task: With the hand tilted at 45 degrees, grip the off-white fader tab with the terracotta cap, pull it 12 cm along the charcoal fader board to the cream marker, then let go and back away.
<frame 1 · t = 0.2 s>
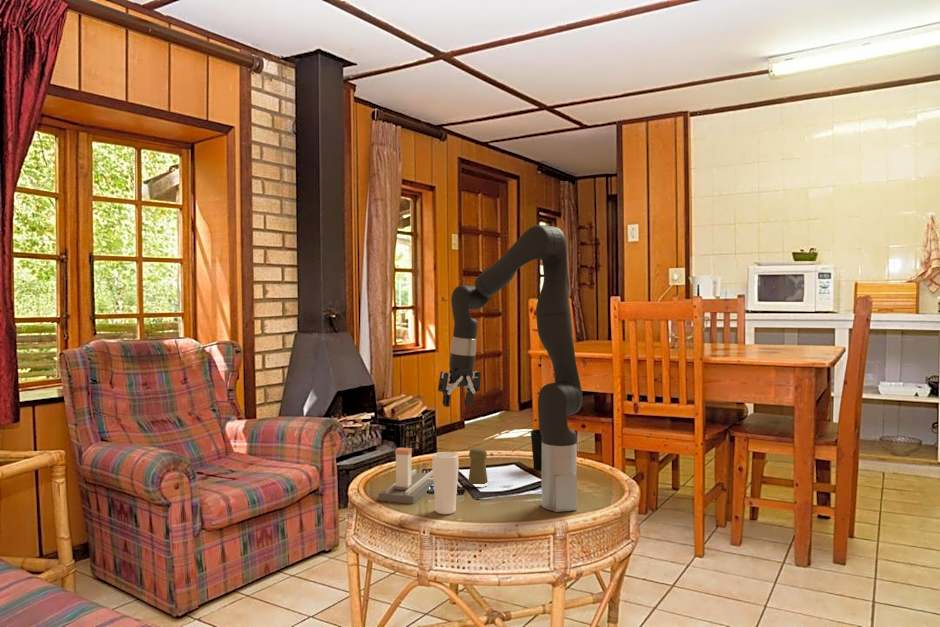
hand: (457, 405, 212), 23 cm above the table, tool pointing down, fingers open, 8 cm apart
drinking glass: (445, 512, 184), on the table
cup: (542, 469, 228), on the table
fader tab: (403, 468, 198), point 8 cm above the table, slide at 0.0 cm
cork: (477, 485, 209), on the table
fader board: (411, 490, 204), on the table
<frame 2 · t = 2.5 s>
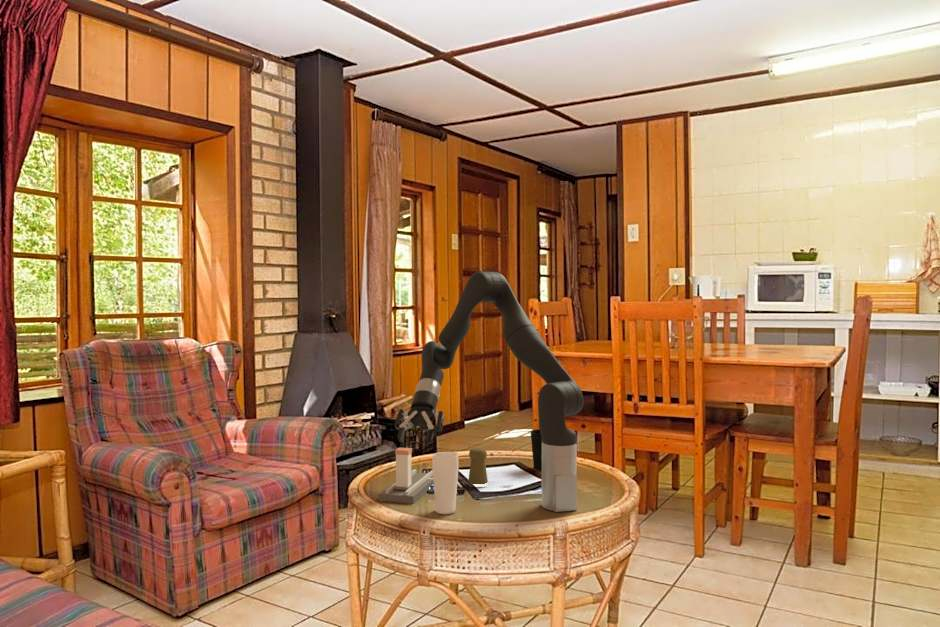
hand: (413, 441, 205), 14 cm above the table, tool tilted 45°, fingers open, 8 cm apart
nothing on the table moved.
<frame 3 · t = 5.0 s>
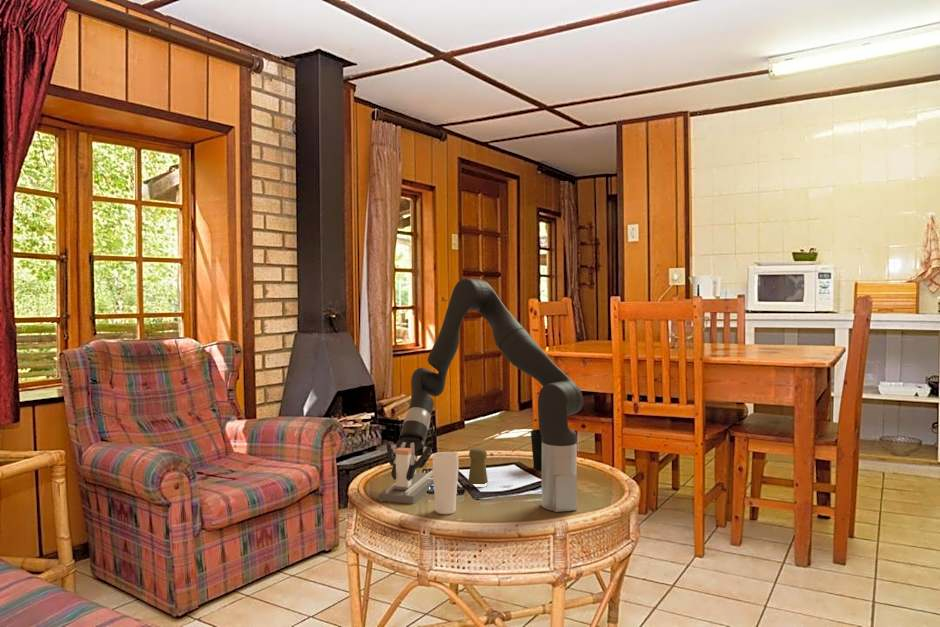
hand: (401, 478, 196), 6 cm above the table, tool tilted 45°, fingers closed on fader tab, 3 cm apart
fader tab: (403, 468, 198), point 8 cm above the table, slide at 0.0 cm, touching gripper
everything else where it was.
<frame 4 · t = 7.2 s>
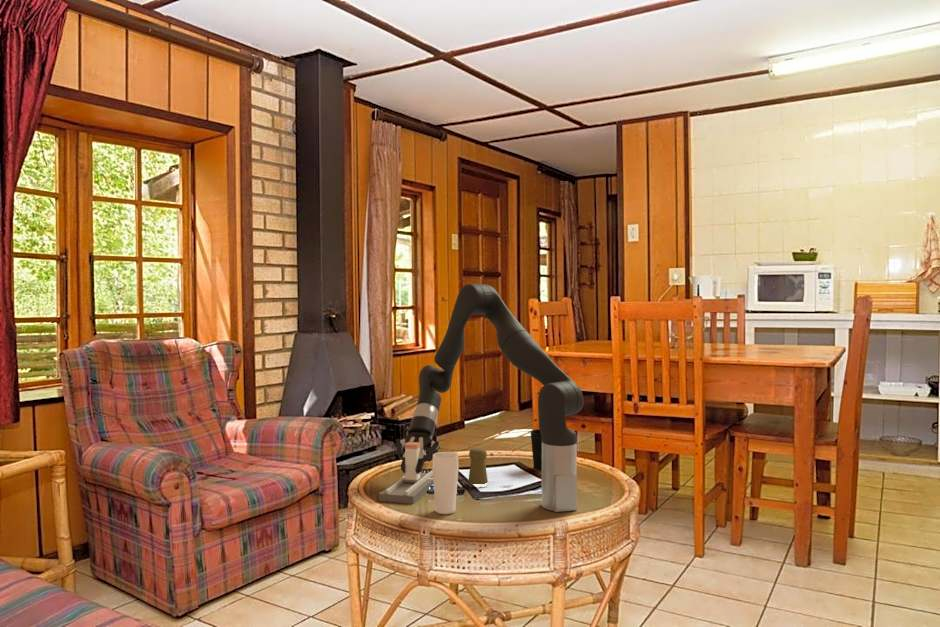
hand: (410, 471, 203), 6 cm above the table, tool tilted 45°, fingers closed on fader tab, 3 cm apart
fader tab: (412, 462, 205), point 8 cm above the table, slide at 7.5 cm, touching gripper
everything else where it was.
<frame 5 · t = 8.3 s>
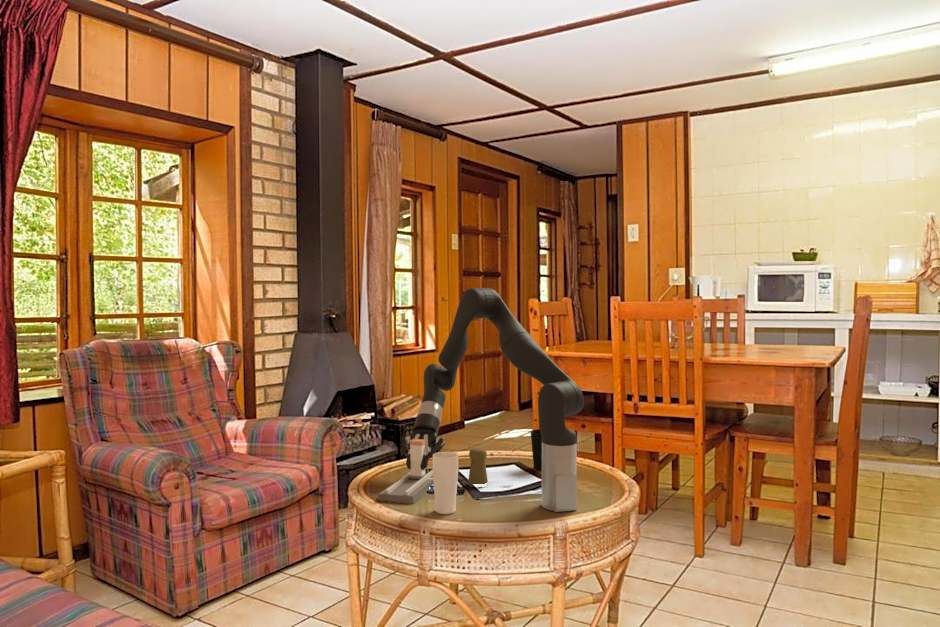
hand: (415, 467, 207), 6 cm above the table, tool tilted 45°, fingers closed on fader tab, 3 cm apart
fader tab: (417, 458, 209), point 8 cm above the table, slide at 11.9 cm, touching gripper
everything else where it was.
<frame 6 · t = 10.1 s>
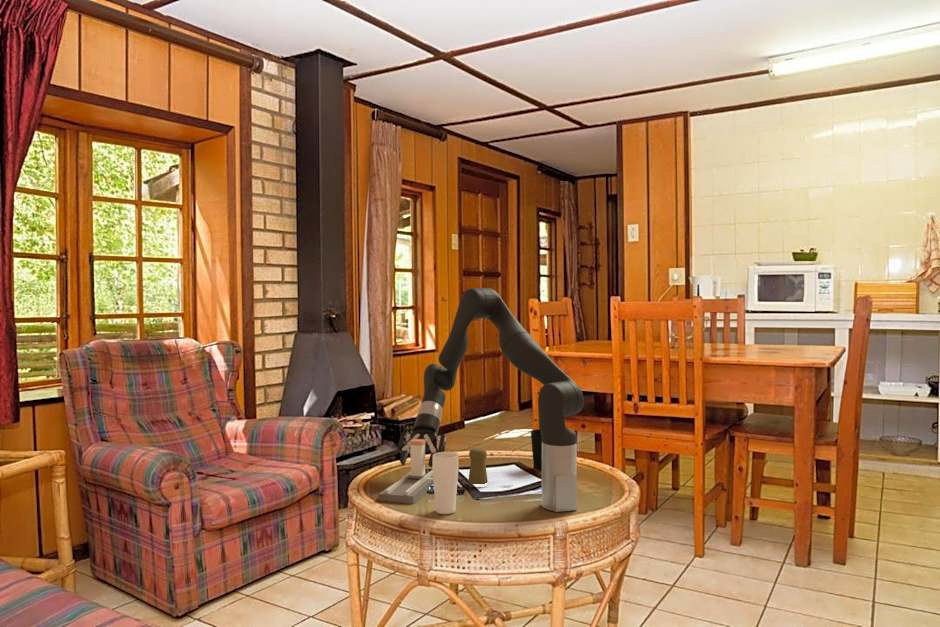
hand: (416, 465, 208), 6 cm above the table, tool tilted 45°, fingers open, 8 cm apart
fader tab: (417, 458, 209), point 8 cm above the table, slide at 12.0 cm
everything else where it was.
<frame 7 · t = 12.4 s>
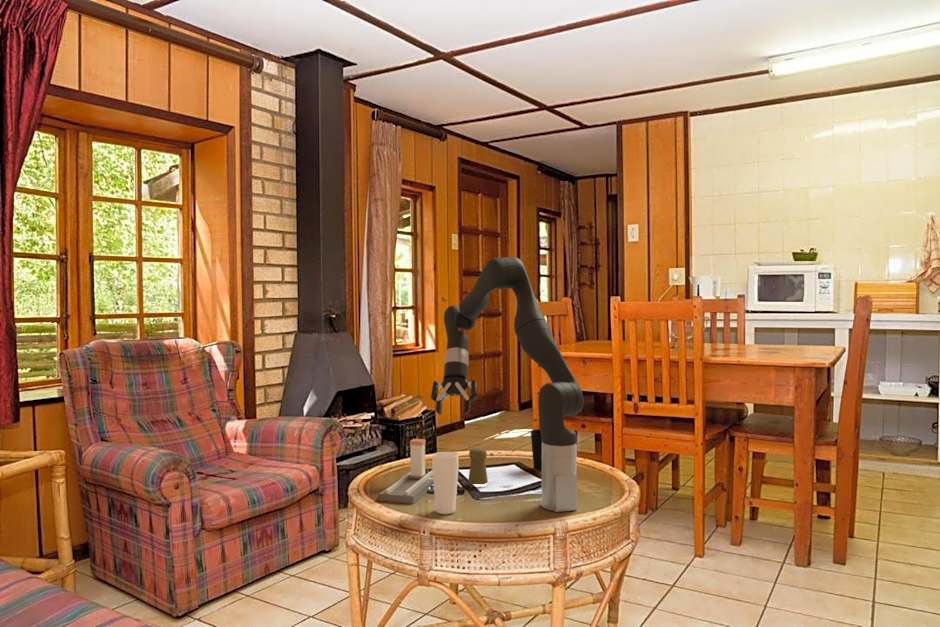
hand: (452, 413, 218), 19 cm above the table, tool tilted 30°, fingers open, 8 cm apart
nothing on the table moved.
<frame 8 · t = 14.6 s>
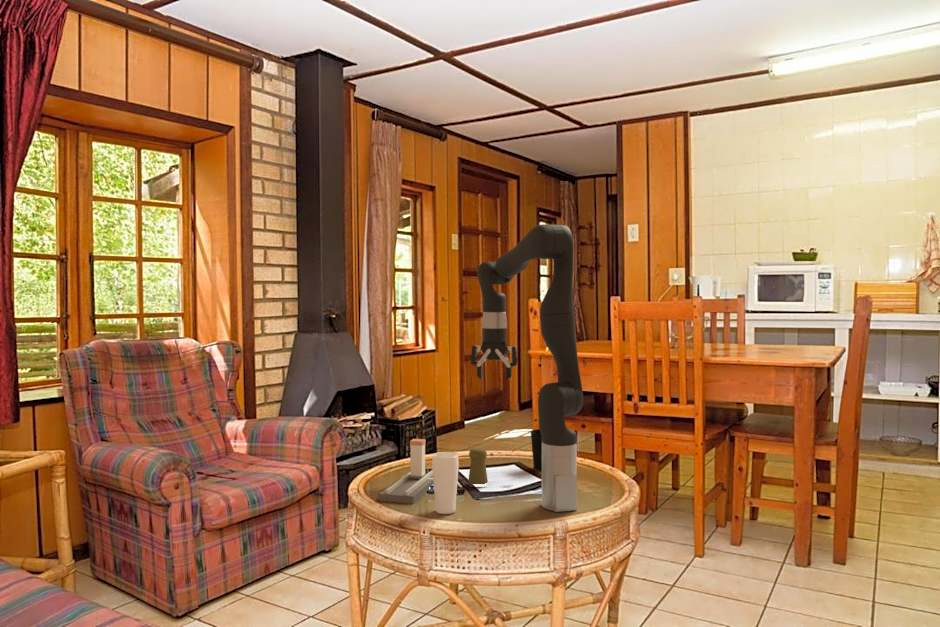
hand: (494, 379, 218), 30 cm above the table, tool pointing down, fingers open, 8 cm apart
nothing on the table moved.
at the end: fader tab slide at 12.0 cm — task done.
